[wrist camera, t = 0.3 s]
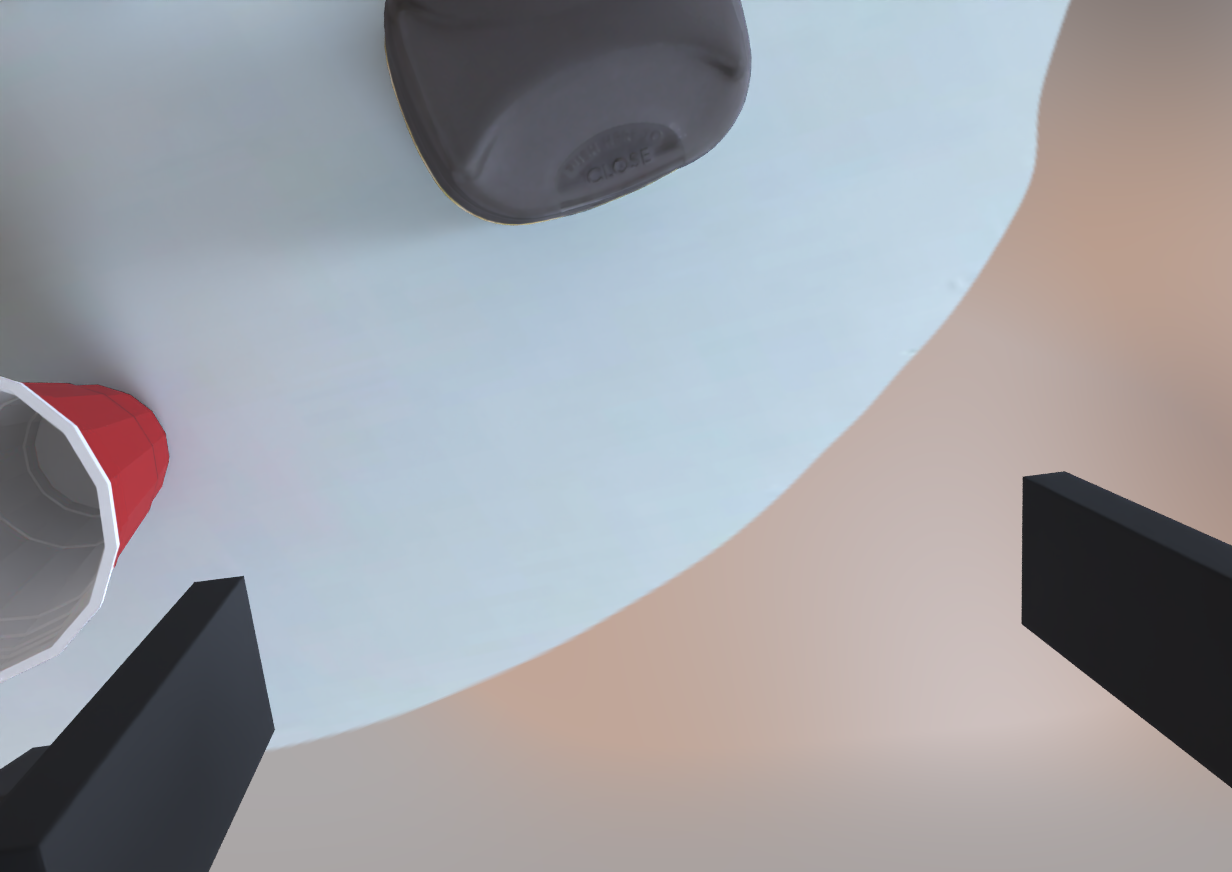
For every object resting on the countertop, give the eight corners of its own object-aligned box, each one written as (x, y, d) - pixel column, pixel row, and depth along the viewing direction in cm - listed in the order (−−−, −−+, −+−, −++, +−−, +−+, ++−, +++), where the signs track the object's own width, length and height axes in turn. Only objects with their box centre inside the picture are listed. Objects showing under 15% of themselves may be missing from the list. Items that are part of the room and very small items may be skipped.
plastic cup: (105, 270, 39) (-67, 288, 28) (278, 465, 42) (188, 556, 30) (-91, 424, 40) (-342, 505, 28) (92, 607, 42) (-68, 751, 31)
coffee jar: (476, 250, 41) (448, 268, 23) (402, 69, 39) (308, -66, 21) (680, 170, 41) (813, 126, 23) (616, -13, 39) (709, -219, 21)
